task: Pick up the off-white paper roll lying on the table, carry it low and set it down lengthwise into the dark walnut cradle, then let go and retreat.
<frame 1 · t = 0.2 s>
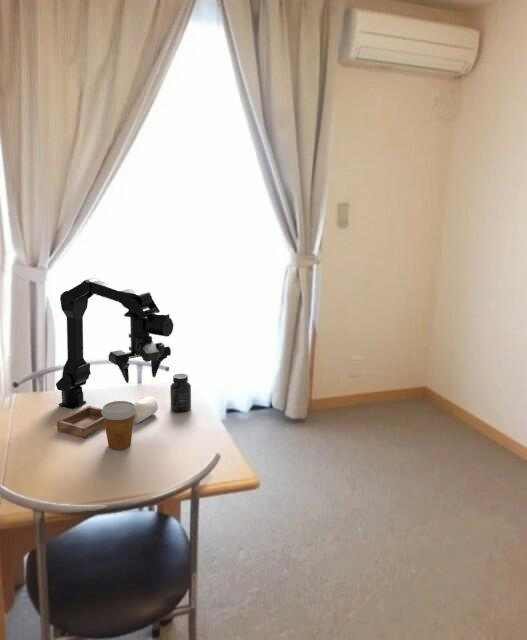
hand: (140, 379, 175), 14 cm above the table, fingers open, 9 cm apart
paper roll: (141, 409, 179), point 3 cm above the table
disposable coffee cup: (119, 446, 161), on the table
supplement bottle: (180, 410, 188), on the table
walnut cradle: (87, 426, 173), on the table
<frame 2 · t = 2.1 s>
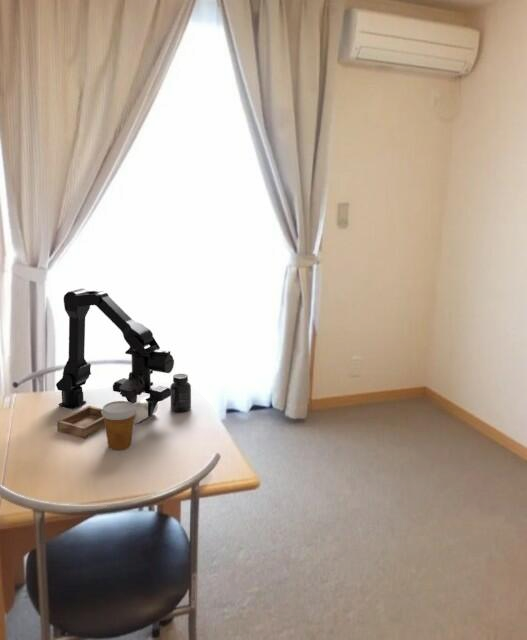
hand: (141, 414, 179), 1 cm above the table, fingers closed on paper roll, 6 cm apart
paper roll: (141, 409, 179), point 3 cm above the table, touching gripper
everything else where it was.
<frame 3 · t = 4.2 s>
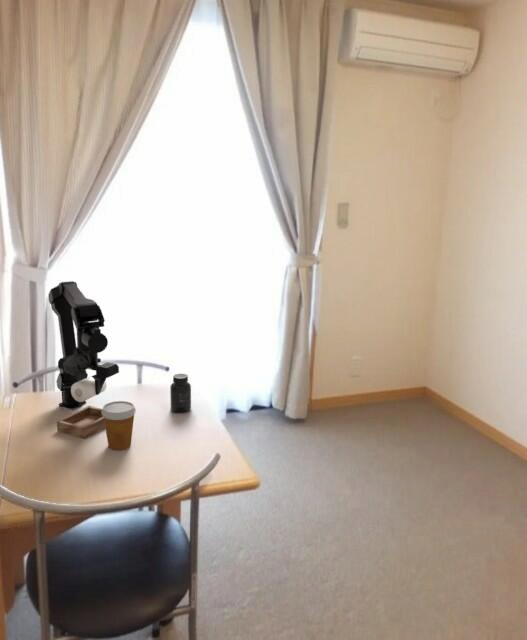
hand: (89, 392, 170), 11 cm above the table, fingers closed on paper roll, 6 cm apart
paper roll: (89, 387, 170), point 13 cm above the table, touching gripper
everything else where it was.
when the fingers open (4 cm above the table, at t = 6.5 s): paper roll drops 2 cm, resting on walnut cradle.
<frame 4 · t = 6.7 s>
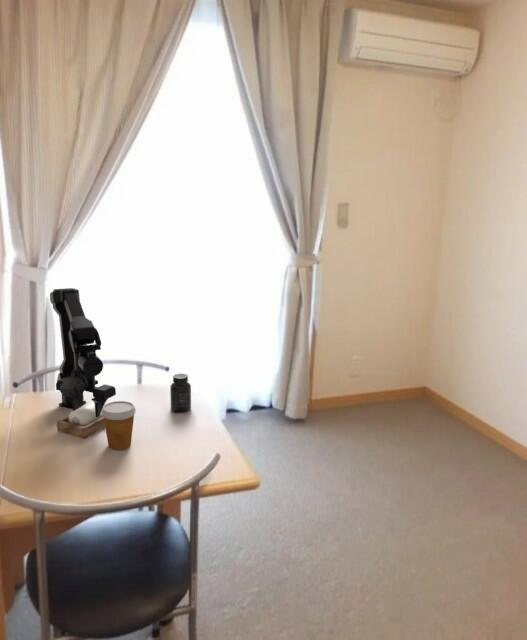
hand: (86, 414, 172), 4 cm above the table, fingers open, 8 cm apart
paper roll: (86, 415, 172), point 4 cm above the table, touching walnut cradle
everything else where it was.
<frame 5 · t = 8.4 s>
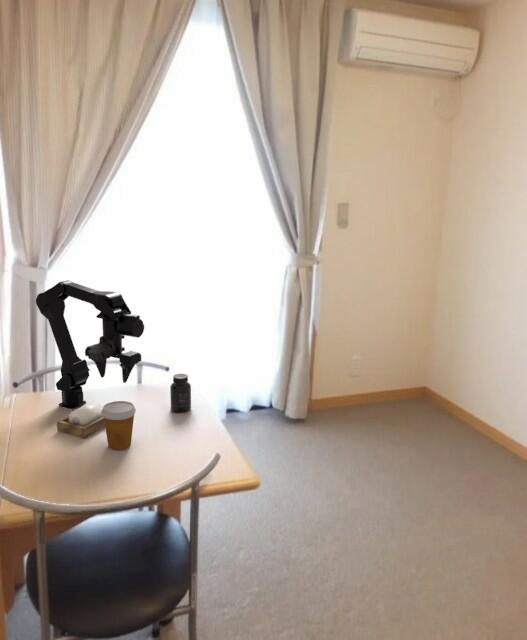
hand: (113, 379, 179), 12 cm above the table, fingers open, 9 cm apart
nothing on the table moved.
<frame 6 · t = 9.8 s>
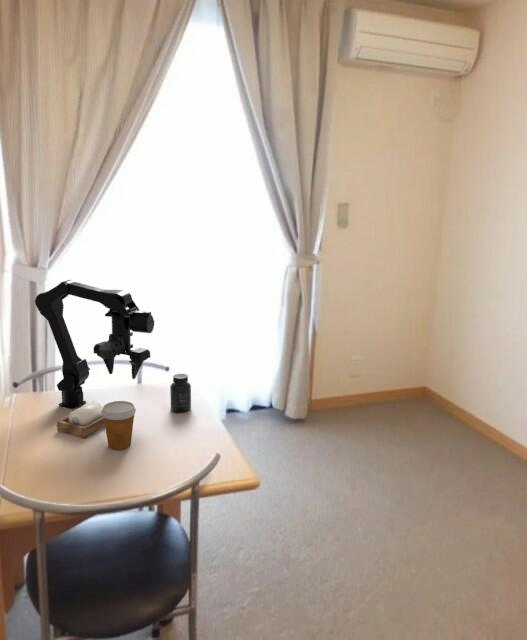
hand: (122, 376, 182), 12 cm above the table, fingers open, 9 cm apart
nothing on the table moved.
at the end: paper roll 0.0 cm from the walnut cradle (horizontally); paper roll point 3.6 cm above the table; the gripper is holding nothing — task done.
